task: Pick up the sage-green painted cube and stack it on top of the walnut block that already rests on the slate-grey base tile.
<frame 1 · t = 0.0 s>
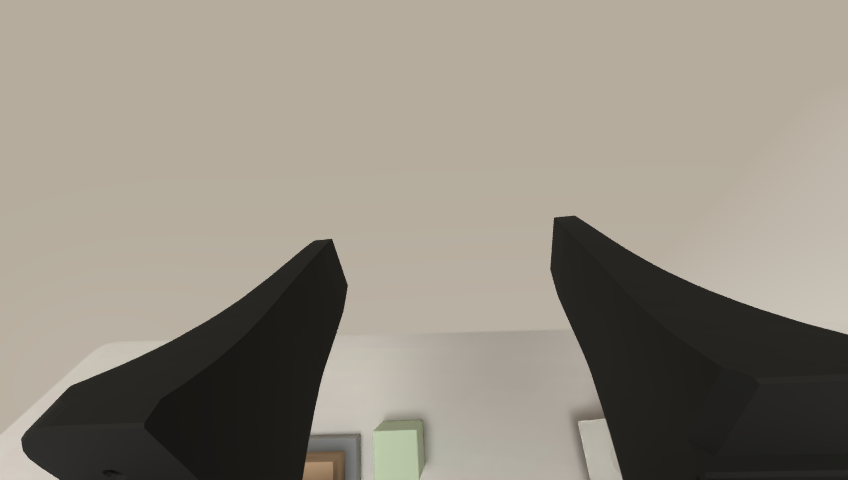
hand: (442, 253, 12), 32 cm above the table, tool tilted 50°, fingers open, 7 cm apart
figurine: (610, 447, 37), on the table
base tile: (325, 474, 40), on the table
green cube: (403, 442, 40), on the table
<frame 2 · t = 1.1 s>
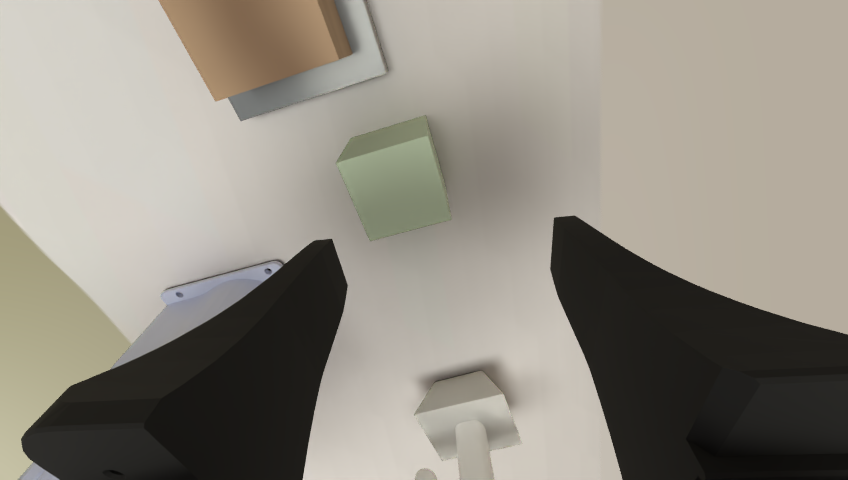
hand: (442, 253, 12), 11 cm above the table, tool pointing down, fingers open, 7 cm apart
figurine: (464, 389, 33), on the table
walnut block: (272, 7, 16), point 1 cm above the table, touching base tile
base tile: (283, 8, 17), on the table
green cube: (400, 163, 21), on the table
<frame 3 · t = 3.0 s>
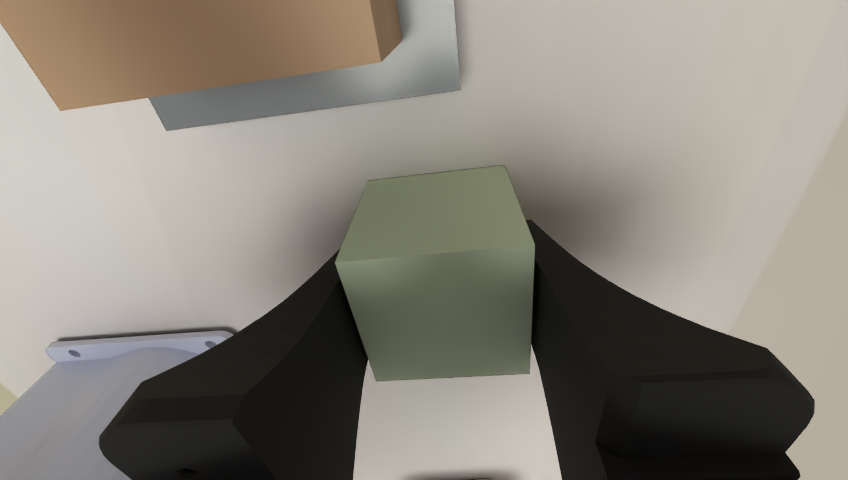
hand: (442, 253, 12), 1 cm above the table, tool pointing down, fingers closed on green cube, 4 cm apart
green cube: (442, 230, 13), on the table, touching gripper
when the fingers open (8 cm above the table, at t = 6.0 s): green cube stays where it is, resting on walnut block.
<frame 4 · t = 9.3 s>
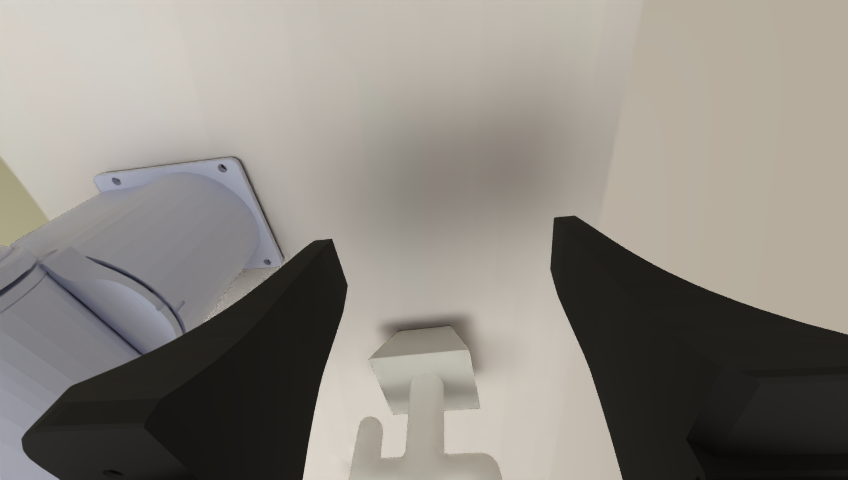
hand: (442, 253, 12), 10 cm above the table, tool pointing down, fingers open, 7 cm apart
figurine: (428, 344, 30), on the table
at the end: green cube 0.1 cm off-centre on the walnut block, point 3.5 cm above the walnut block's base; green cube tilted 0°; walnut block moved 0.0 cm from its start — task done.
